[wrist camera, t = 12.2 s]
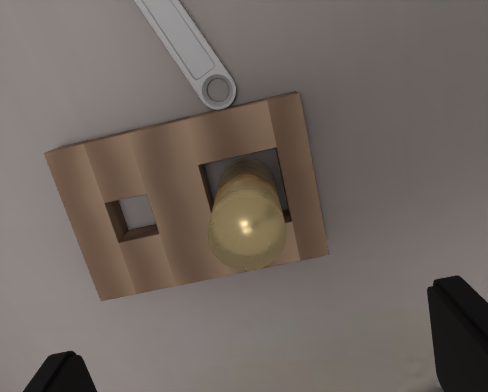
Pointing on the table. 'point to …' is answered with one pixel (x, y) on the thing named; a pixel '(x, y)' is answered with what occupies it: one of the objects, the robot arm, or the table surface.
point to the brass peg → (246, 217)
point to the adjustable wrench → (187, 47)
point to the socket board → (181, 193)
